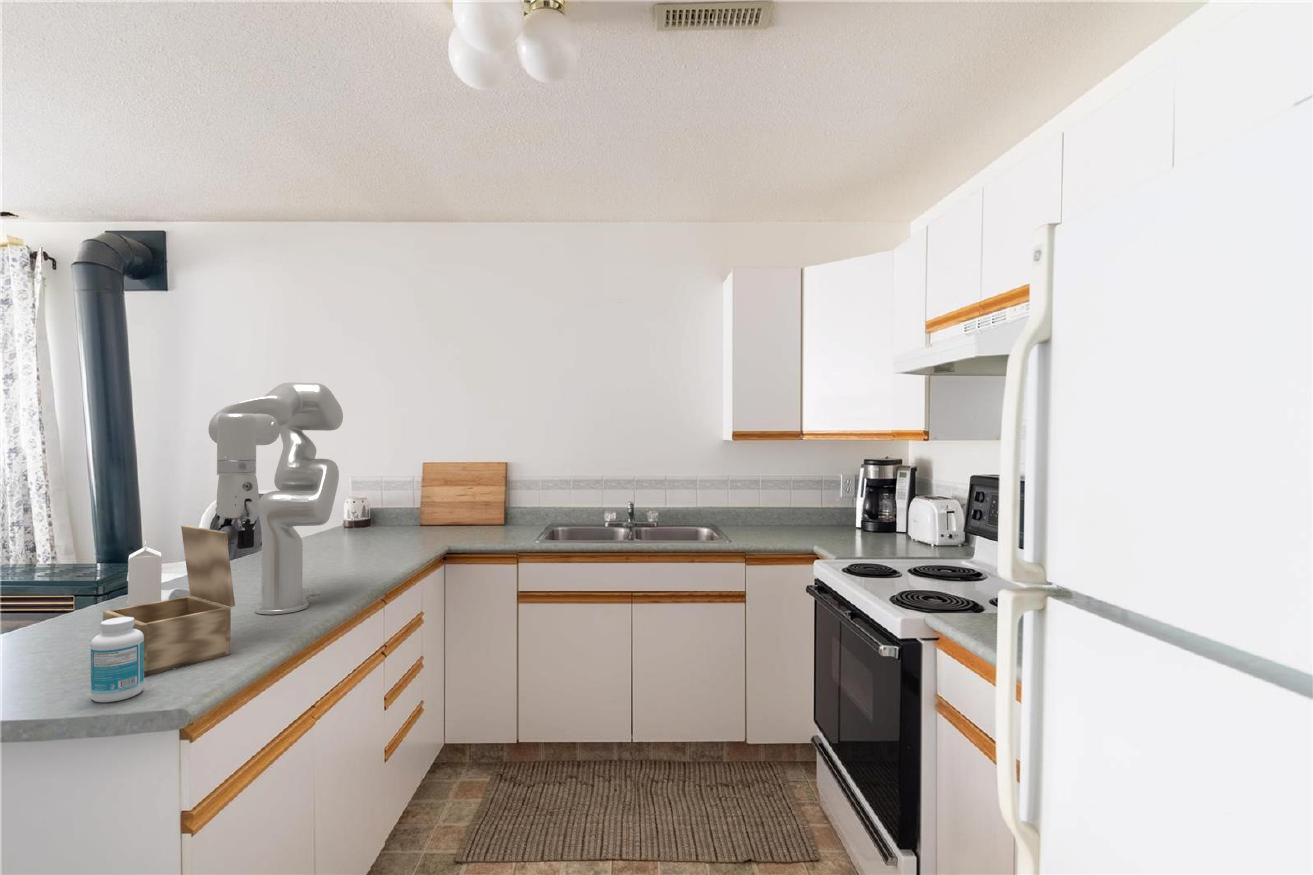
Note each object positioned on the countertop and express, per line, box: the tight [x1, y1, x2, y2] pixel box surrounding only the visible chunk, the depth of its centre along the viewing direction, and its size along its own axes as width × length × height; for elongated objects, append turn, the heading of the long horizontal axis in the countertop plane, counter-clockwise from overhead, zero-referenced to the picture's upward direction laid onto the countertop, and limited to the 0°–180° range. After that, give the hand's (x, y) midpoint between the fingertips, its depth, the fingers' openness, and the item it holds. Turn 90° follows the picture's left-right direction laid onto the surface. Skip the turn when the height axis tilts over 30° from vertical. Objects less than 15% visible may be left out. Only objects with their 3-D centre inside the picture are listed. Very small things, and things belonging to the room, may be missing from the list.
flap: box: [181, 525, 239, 608], centre depth 148 cm, size 16×18×7 cm
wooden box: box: [102, 596, 232, 678], centre depth 139 cm, size 16×18×10 cm
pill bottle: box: [90, 617, 145, 703], centre depth 119 cm, size 8×7×14 cm
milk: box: [127, 539, 163, 607], centre depth 152 cm, size 6×6×22 cm
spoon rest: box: [161, 587, 204, 601], centre depth 175 cm, size 24×12×7 cm, turn 19°
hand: (236, 545), depth 150 cm, fingers open, 7 cm apart
